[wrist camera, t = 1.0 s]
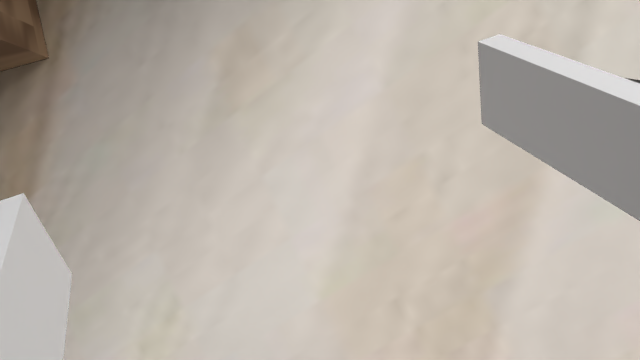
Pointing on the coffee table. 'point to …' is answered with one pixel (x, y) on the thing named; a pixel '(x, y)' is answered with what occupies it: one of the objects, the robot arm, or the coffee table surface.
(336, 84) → the coffee table surface
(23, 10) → the socket block
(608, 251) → the coffee table surface
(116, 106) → the coffee table surface
